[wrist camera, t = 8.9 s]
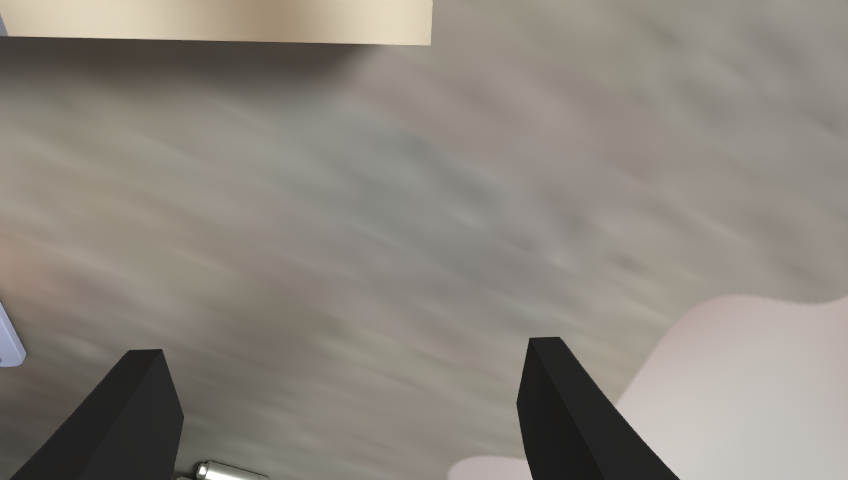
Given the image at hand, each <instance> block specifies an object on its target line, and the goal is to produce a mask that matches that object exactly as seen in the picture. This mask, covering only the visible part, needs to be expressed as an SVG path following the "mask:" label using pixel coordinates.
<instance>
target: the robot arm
mask: <svg viewBox="0 0 848 480" xmlns="http://www.w3.org/2000/svg"><path fill="white" fill-rule="evenodd" d="M25 357H26V351H25V350H24V348H23V346H22V344H21V342H20V340H19V338H18V336H17V334H16V332H15V330H14V328H13V326H12V324H11V322H10V320H9V318H8V316H7V314H6V312H5V310H4V308H3V306H2V304H1V302H0V367H14V366H19V365H20V364H22V362H23V360H24V359H25ZM516 404H517V410H518V416H519V422H520V428H521V433H522V439H523V444H524V450H525V454H526V457H527V461H528V464H529V467H530V471H531V474H532V478H533V480H680V479H679V478H678V477H677V476H676V475H675V474H674V473H673V472H672V471H671V470H670V469H669V468H668V467H667V466H666V465H665V464H664V463H663V462H662V460H661V459H660V458H659V457H658V456H657V455H656V454H655V453H654V452H653V451H652V450H651V449H650V447H649V446H648V445H647V444H646V443H645V442H644V441H643V440H642V439H641V438H640V436H639V435H638V434H637V433H636V432H635V431H634V430H633V428H632V427H631V426H630V425H629V424H628V422H627V421H626V420H625V419H624V418H623V416H622V415H621V414H620V413H619V412H618V411H617V409H616V408H615V407H614V406H613V405H612V403H611V402H610V401H609V400H608V399H607V397H606V396H605V395H604V394H603V392H602V391H601V390H600V389H599V387H598V386H597V385H596V383H595V382H594V381H593V380H592V378H591V377H590V376H589V374H588V373H587V372H586V371H585V369H584V368H583V367H582V365H581V364H580V363H579V361H578V360H577V359H576V357H575V356H574V355H573V353H572V352H571V351H570V349H569V348H568V347H567V345H566V344H565V343H564V341H563V340H562V339H561V338H560V337H538V338H530V339H529V344H528V349H527V354H526V358H525V363H524V368H523V373H522V378H521V383H520V388H519V393H518V398H517V403H516ZM183 420H184V415H183V412H182V409H181V406H180V403H179V400H178V397H177V394H176V391H175V388H174V384H173V381H172V378H171V375H170V372H169V369H168V366H167V363H166V360H165V357H164V354H163V351H162V349H151V350H129V351H128V352H127V353H126V354H125V355H124V356H123V357H122V358H121V359H120V360H119V361H118V363H117V364H116V365H115V366H114V367H113V368H112V369H111V371H110V372H109V373H108V374H107V375H106V376H105V377H104V378H103V380H102V381H101V382H100V383H99V384H98V385H97V386H96V388H95V389H94V390H93V391H92V392H91V393H90V394H89V396H88V397H87V398H86V399H85V400H84V401H83V402H82V403H81V405H80V406H79V407H78V408H77V409H76V410H75V411H74V412H73V413H72V415H71V416H70V417H69V418H68V419H67V420H66V421H65V422H64V423H63V424H62V425H61V426H60V428H59V429H58V430H57V431H56V432H55V433H54V434H53V435H52V436H51V437H50V438H49V439H48V440H47V442H46V443H45V444H44V445H43V446H42V447H41V448H40V449H39V450H38V451H37V452H36V453H35V454H34V455H33V456H32V457H31V458H30V459H29V460H28V461H27V462H26V463H25V464H24V465H23V466H22V467H21V468H20V469H19V470H18V471H17V472H16V473H15V474H14V475H13V476H12V477H11V478H10V479H9V480H170V479H171V475H172V472H173V469H174V465H175V460H176V455H177V451H178V446H179V441H180V436H181V430H182V425H183Z"/></svg>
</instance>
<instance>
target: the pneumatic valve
mask: <svg viewBox="0 0 848 480" xmlns="http://www.w3.org/2000/svg"><path fill="white" fill-rule="evenodd" d="M196 477H198V478H197V479H196V480H270V478H269V477H266V476H262V475H259V474H255V473H251V472H248V471H244V470H240V469H237V468H233V467H230V466H226V465H222V464H219V463H215V462H212V461H208V462H207V464H203V463H201V464H200V466H199V467H198V470H197V473H196ZM176 480H193V479H189V478H185V477H179V478H178V479H176Z"/></svg>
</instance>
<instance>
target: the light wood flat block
mask: <svg viewBox="0 0 848 480" xmlns="http://www.w3.org/2000/svg"><path fill="white" fill-rule="evenodd" d="M432 4H433V0H0V36H26V37H72V38H118V39H165V40H211V41H257V42H303V43H350V44H396V45H430V42H431V23H432Z"/></svg>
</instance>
